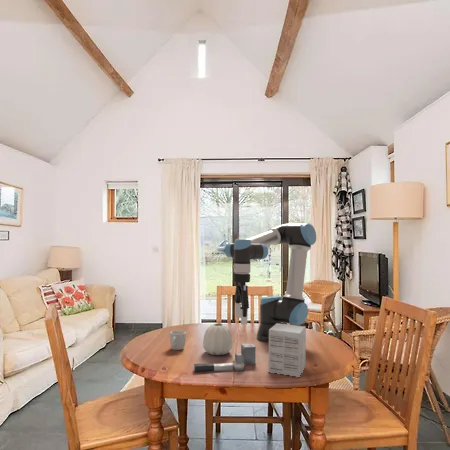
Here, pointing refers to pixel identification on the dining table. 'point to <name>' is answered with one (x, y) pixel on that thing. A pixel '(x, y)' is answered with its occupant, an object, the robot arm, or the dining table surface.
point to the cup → (177, 339)
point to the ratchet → (221, 365)
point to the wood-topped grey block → (248, 353)
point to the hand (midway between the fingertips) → (240, 320)
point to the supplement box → (287, 349)
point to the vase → (217, 340)
